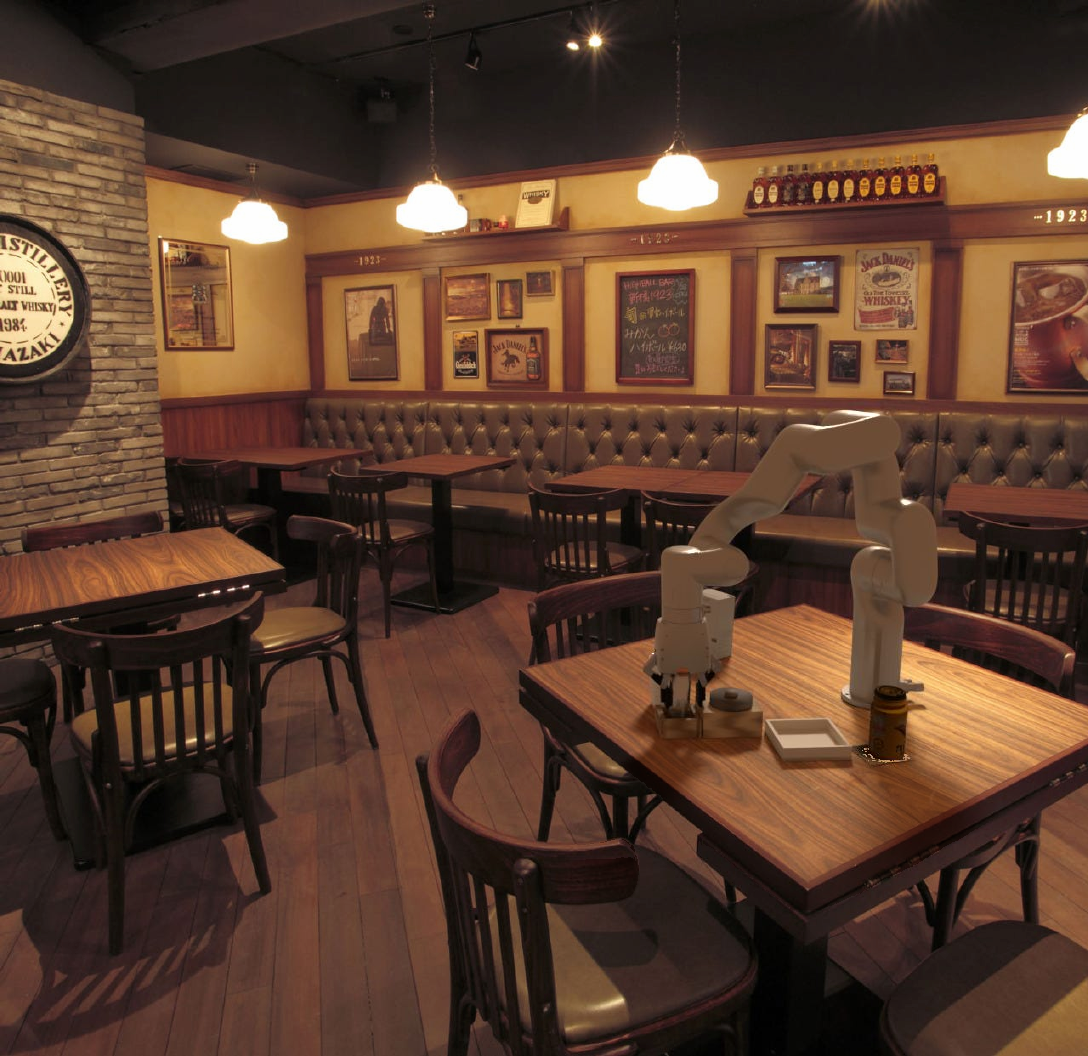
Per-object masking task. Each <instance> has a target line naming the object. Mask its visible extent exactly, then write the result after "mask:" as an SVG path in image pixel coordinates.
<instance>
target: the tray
mask: <svg viewBox="0 0 1088 1056" xmlns="http://www.w3.org/2000/svg"><path fill="white" fill-rule="evenodd" d="M764 733H765V735H766V736H767V738H768V739H769V741H770V743H771V745H772V747H774V749H775V751H776V752H777V755H779V758H780V759H781V761H782V762H818V761H819V762H821V761H850V760H851V761H852V757H853V750H852V746H853V745H852V744H851V743H850V742H849V741H848V739H847V738H846V737H845V735H843V733H842V732H841V731H840V730H839V728H838V727H837V726H836V725H835V724H834V722H833V721H832V720H831V719H830V717H811V718H810V717H809V718H807V717H805V718H776V719H775V718H770V719H769V718H768V719H767V718H765V719H764Z"/></svg>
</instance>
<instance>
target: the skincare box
mask: <svg viewBox="0 0 1088 1056" xmlns="http://www.w3.org/2000/svg"><path fill="white" fill-rule="evenodd" d="M703 604H704V605H706V606H710V607H711V613H707V614H705V616H704V617H705V618H706V621H707V626H708V631H709V639H710V650H711V653H712V654H713V655H714V656H715V657H716V658H717V659H718V660H720V659H723V658H728V657H731V656H732V650H733V635H734V634H733V633H734V621H735V618H734V617H735V607H736V596H734V595H731V594H728V593H726V592H723V591H719V590H717V589H713V588H705V589H703Z"/></svg>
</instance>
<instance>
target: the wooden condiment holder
mask: <svg viewBox="0 0 1088 1056" xmlns="http://www.w3.org/2000/svg"><path fill="white" fill-rule="evenodd" d="M694 697H695V698H694V699H695V700H694V701H695V702H694V703H690V711H689V718H674V719H668V709H666V707H665V705H664V704H661V705H655V707H654V723H655V726H656V728H657V732H658V734H659V737H660V739H661V740H662V739H665V740H667V739H669V740H670V739H698V738H699V739H701V738H702V739H713V738H714V739H718V738H720V739H721V738H724V739H725V738H727V739H728V738H760V737H761V738H762V737H763V724H764V723H763V721H764V710H763V709H762V708H761V706H760V705H759V702H757V700H756V698H755V696H754V695H753V694H752V693H751V692H750V691H747V690H746V689H742V688H738V687H732V686H731V687H727V686H726V687H718V688H715V689H712V690H711V691H710V692H709V695H706V700H705V701H703V707H699V706H698V704H697V702H696V695H695V696H694Z"/></svg>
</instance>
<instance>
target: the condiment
mask: <svg viewBox="0 0 1088 1056" xmlns="http://www.w3.org/2000/svg"><path fill="white" fill-rule="evenodd" d="M906 696H907V694H906V692H905V691H904V690H903V689H901V688H899V687H896V686H889V685H882V686H878V687H876V688H875V690H874V697H873V699H874V700H873V701H872V703H871V710H870V709H869V710H870V711H869V713H870V715H869V731H868V743H864V744H859V745H851V746H852V752H854V753H855V754H856V755H857V754H859V755H858V756H859V757H860V758H861V759H862V760H864V761H865V762H866V763H868V764H869V765H871V766H876V765H880V766H881V765H885V764H886V765H887V764H892V763H891V762H887V763H885V762H882V761H881V762H878V761H877V760H878V759H880V760H890V761H892V760H893V761H894V760H905V758H904V759H903V757H905V756H904V754H907V752H905V751H906V740H907V736H906V735H907V728H908V727H907V723H908V722H907V721H908V712H909V711H908V710H909V707H908V706H907V703H906ZM864 748H869V750H868V749H867V750H864ZM862 750H863V751H862ZM865 751H867V752H865ZM863 754H866V755H867V757H866V756H865V755H863ZM868 754H871V755H872V756H873V758H875V759H872V758H871V756H870V755H868ZM908 755H909V756H907V757H910V759H908V758H907V760H912V761H915V760H916V758H914V757H912V756H911V755H910V754H908ZM876 759H877V760H876ZM868 760H869V761H868ZM872 760H876V761H872Z"/></svg>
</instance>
